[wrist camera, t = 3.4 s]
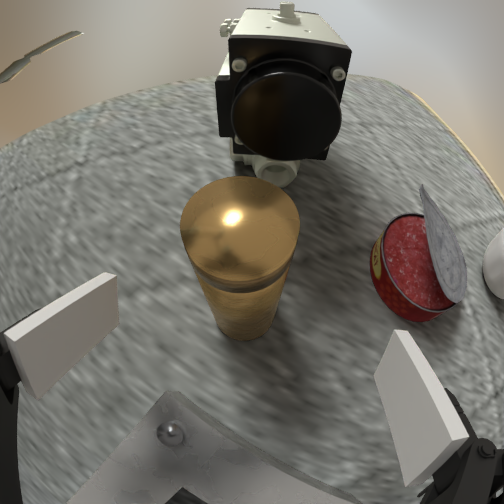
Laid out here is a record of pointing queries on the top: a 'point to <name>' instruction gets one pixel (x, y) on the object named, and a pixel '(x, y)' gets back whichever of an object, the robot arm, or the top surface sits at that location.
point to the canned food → (419, 264)
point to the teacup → (495, 265)
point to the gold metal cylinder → (241, 250)
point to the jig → (197, 465)
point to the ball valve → (280, 89)
